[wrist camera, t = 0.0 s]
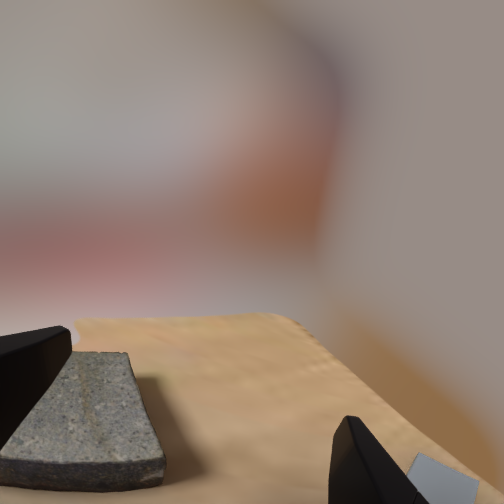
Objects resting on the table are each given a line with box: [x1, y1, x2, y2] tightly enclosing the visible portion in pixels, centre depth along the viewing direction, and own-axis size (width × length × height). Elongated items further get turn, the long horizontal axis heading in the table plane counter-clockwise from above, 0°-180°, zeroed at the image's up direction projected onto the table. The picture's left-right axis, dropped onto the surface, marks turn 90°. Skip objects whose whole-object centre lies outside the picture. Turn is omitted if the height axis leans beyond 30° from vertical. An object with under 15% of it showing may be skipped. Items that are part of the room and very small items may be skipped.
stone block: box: [0, 351, 166, 493], centre depth 18 cm, size 14×20×5 cm
